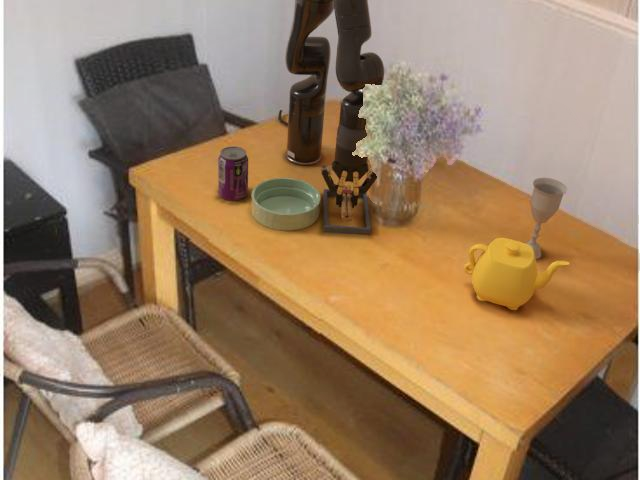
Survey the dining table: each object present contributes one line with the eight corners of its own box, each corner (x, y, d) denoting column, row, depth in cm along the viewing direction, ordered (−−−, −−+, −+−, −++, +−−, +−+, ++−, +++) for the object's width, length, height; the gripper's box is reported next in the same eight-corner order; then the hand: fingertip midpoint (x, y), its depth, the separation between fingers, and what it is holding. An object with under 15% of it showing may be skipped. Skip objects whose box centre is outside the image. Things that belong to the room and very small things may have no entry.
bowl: (253, 193, 181) (254, 175, 178) (318, 196, 182) (320, 179, 179) (248, 230, 168) (249, 212, 165) (319, 234, 169) (320, 216, 166)
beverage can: (246, 204, 177) (246, 161, 170) (216, 202, 177) (216, 158, 170) (249, 188, 183) (249, 146, 176) (220, 186, 182) (220, 144, 175)
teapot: (467, 264, 163) (478, 217, 156) (557, 289, 158) (573, 242, 151) (453, 300, 153) (464, 251, 145) (550, 329, 148) (567, 280, 140)
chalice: (547, 248, 171) (568, 182, 160) (544, 264, 166) (566, 197, 155) (516, 240, 172) (534, 174, 162) (512, 256, 167) (531, 189, 157)
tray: (323, 195, 182) (323, 188, 181) (365, 198, 183) (366, 191, 182) (323, 234, 169) (324, 227, 168) (369, 236, 169) (370, 229, 168)
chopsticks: (340, 193, 179) (341, 184, 178) (350, 193, 179) (351, 185, 178) (341, 220, 169) (342, 211, 168) (352, 221, 169) (353, 212, 168)
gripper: (382, 135, 167) (374, 199, 177) (322, 131, 167) (316, 195, 177) (385, 151, 161) (375, 216, 171) (322, 147, 161) (316, 212, 171)
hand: (345, 205), depth 174 cm, fingers closed on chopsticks, 2 cm apart
